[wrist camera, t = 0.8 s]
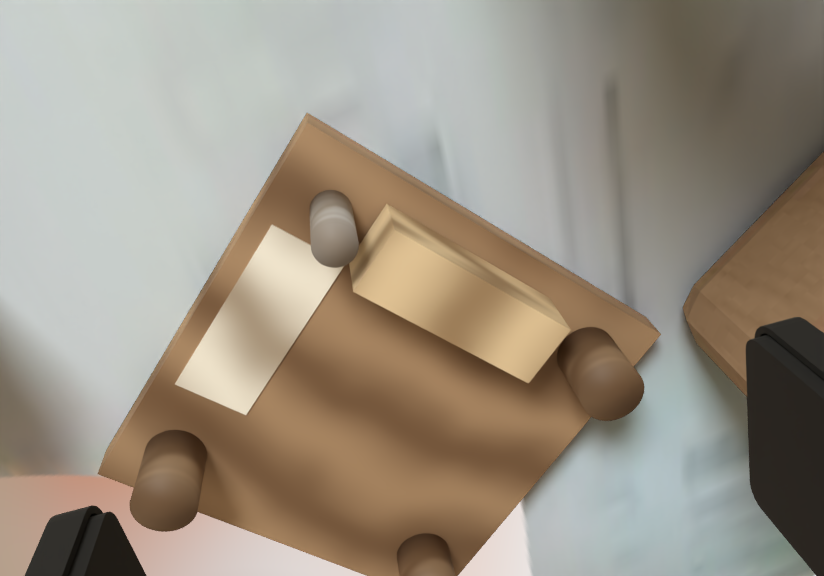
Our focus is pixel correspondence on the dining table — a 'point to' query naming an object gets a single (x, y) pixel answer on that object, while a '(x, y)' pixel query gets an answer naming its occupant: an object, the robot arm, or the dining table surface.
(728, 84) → the dining table surface
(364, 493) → the board
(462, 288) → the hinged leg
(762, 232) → the wooden block
